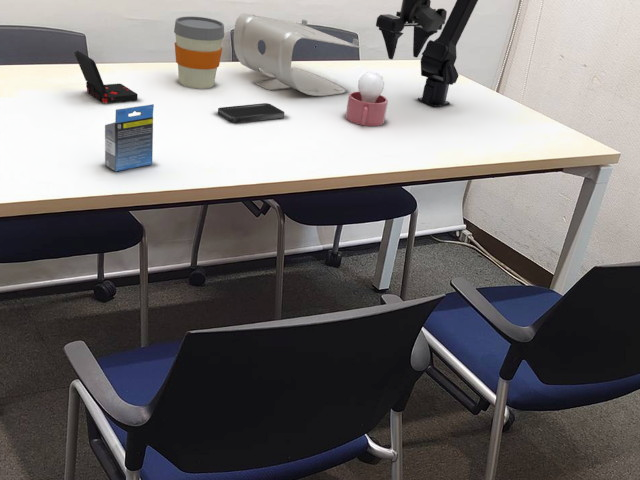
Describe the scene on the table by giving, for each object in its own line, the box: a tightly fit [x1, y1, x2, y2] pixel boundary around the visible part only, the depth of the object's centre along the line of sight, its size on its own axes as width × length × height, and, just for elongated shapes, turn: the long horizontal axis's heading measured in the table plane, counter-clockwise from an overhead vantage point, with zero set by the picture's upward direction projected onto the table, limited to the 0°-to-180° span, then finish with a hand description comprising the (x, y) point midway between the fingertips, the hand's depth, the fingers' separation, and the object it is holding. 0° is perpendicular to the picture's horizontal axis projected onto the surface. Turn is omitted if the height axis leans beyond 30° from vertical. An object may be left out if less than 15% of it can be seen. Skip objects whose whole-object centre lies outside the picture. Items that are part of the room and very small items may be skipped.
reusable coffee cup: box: [173, 16, 225, 90], centre depth 222 cm, size 12×13×15 cm
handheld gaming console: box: [74, 50, 138, 104], centre depth 206 cm, size 9×12×10 cm
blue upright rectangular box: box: [104, 103, 155, 173], centre depth 171 cm, size 9×4×12 cm, turn 133°
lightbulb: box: [357, 70, 385, 103], centre depth 215 cm, size 6×6×11 cm
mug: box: [345, 90, 389, 127], centre depth 215 cm, size 13×10×6 cm
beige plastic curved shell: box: [233, 13, 360, 97], centre depth 233 cm, size 26×24×16 cm
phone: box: [217, 102, 285, 124], centre depth 209 cm, size 8×1×15 cm
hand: (403, 58), depth 221 cm, fingers open, 9 cm apart
